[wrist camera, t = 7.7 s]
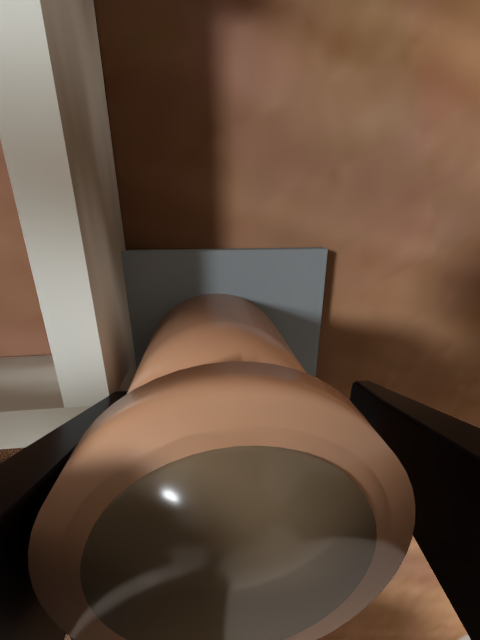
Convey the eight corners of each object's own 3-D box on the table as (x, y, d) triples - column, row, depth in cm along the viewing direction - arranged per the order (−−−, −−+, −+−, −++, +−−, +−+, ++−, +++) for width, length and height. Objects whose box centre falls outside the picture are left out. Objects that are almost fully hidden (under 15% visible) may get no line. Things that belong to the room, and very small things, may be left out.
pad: (305, 425, 13) (310, 434, 13) (126, 440, 12) (122, 450, 12) (321, 247, 11) (327, 249, 10) (95, 250, 10) (88, 252, 9)
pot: (286, 415, 12) (385, 647, 6) (146, 426, 12) (69, 704, 5) (295, 280, 10) (460, 387, 4) (128, 284, 10) (-37, 424, 3)
